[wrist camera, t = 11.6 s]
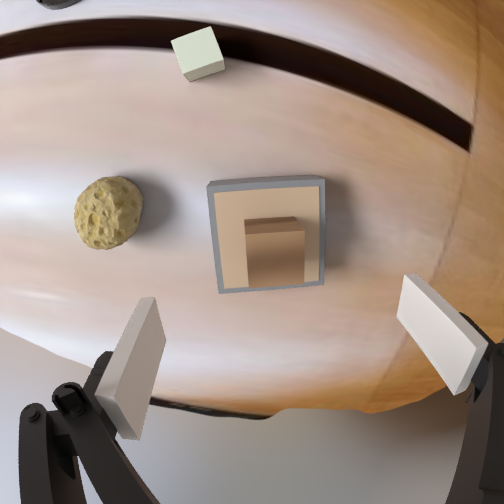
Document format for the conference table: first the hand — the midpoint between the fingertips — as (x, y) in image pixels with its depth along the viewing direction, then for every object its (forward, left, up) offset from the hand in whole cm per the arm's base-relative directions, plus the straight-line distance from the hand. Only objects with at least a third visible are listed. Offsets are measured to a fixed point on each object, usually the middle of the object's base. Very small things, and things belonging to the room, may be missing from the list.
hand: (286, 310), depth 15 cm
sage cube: (-20, -6, -27) cm, 34 cm away
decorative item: (-2, -20, -27) cm, 34 cm away
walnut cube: (+4, +1, -22) cm, 22 cm away
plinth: (+3, +1, -27) cm, 27 cm away
